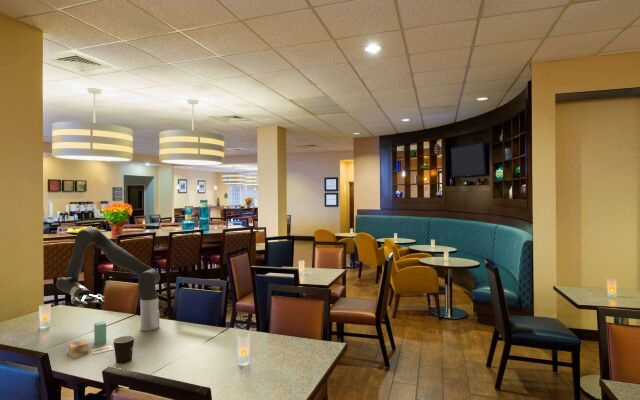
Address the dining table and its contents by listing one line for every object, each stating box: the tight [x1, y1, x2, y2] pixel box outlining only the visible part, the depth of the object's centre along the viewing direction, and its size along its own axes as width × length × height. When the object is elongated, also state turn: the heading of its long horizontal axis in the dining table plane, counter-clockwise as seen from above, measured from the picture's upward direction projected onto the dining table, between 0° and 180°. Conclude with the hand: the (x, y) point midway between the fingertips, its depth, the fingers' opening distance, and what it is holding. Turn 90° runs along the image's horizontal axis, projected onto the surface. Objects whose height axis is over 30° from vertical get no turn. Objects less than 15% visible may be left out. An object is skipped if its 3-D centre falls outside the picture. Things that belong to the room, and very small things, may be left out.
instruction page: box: [90, 344, 115, 355], centre depth 186 cm, size 9×7×1 cm
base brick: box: [67, 339, 90, 359], centre depth 182 cm, size 7×7×5 cm
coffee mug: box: [112, 335, 135, 365], centre depth 175 cm, size 12×9×10 cm
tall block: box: [93, 321, 107, 346], centre depth 195 cm, size 4×4×10 cm
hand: (95, 304), depth 202 cm, fingers open, 8 cm apart
